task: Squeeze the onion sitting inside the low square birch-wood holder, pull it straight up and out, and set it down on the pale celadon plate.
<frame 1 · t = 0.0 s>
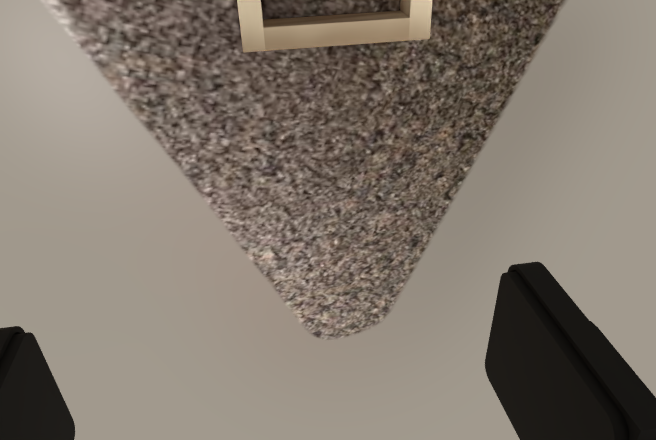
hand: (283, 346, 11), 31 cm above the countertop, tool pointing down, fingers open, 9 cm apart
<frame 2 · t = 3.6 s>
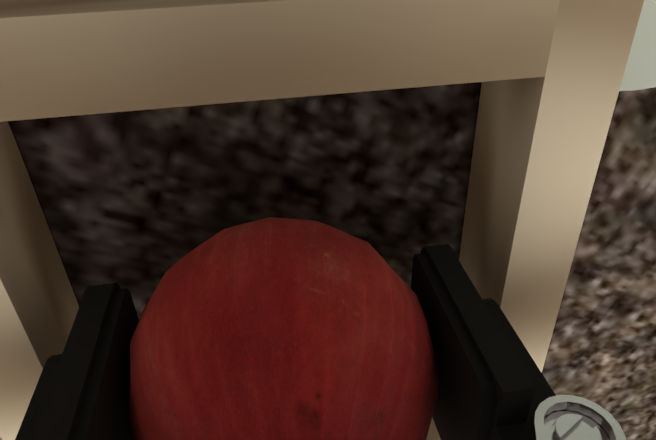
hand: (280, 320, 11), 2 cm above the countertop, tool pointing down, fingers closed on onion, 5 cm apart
onion: (273, 251, 14), resting in holder, touching gripper
holder: (273, 256, 13), on the countertop
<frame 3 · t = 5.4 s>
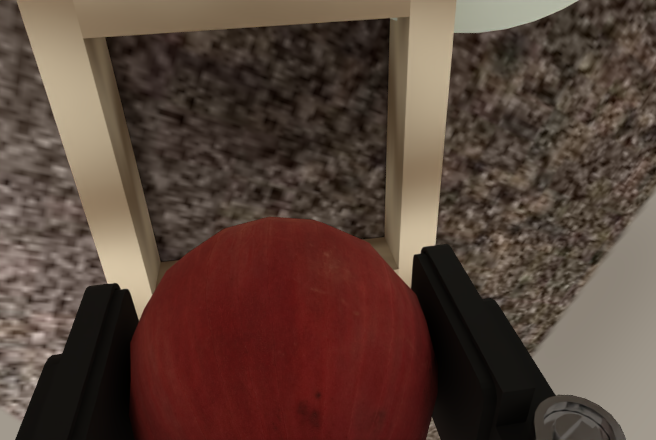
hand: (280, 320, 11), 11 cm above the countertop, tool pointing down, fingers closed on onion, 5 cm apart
onion: (272, 251, 14), point 8 cm above the countertop, touching gripper
holder: (264, 145, 21), on the countertop
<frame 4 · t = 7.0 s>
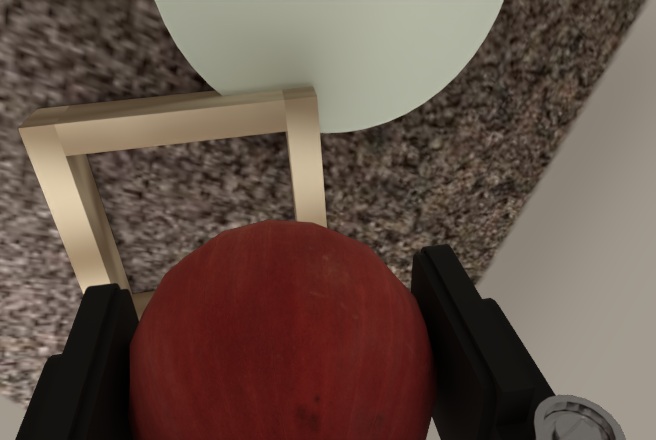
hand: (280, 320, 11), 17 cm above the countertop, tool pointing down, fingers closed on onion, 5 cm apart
onion: (272, 253, 14), point 14 cm above the countertop, touching gripper
holder: (202, 210, 29), on the countertop
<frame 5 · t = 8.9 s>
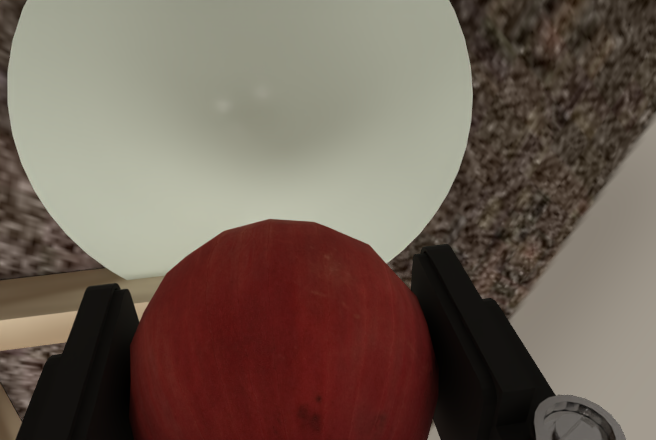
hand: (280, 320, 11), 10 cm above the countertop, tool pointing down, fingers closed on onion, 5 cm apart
onion: (273, 253, 14), point 7 cm above the countertop, touching gripper
plate: (256, 130, 20), on the countertop
holder: (115, 377, 25), on the countertop
when the fingers open (5 cm above the countertop, at t = 10.7 s): onion drops 1 cm, resting on plate.
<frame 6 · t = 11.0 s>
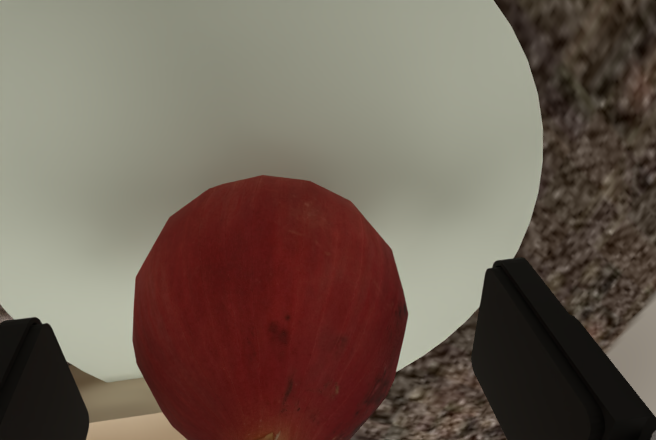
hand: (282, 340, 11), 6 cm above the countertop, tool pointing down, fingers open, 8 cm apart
onion: (272, 214, 15), point 1 cm above the countertop, touching plate
plate: (267, 203, 16), on the countertop
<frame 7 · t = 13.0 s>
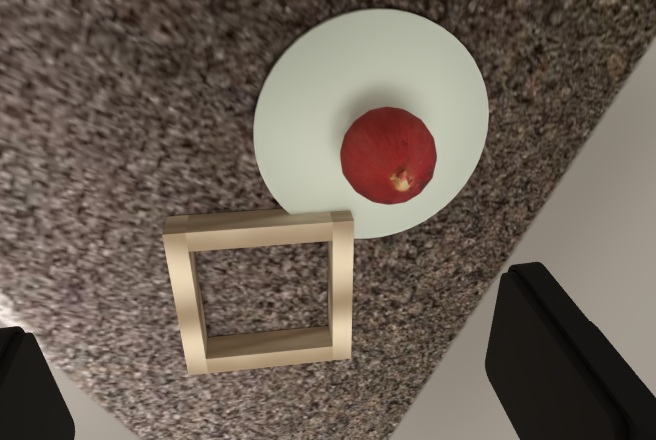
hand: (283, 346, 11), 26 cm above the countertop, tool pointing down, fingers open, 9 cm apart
onion: (374, 133, 35), point 1 cm above the countertop, touching plate
plate: (370, 131, 36), on the countertop
holder: (265, 282, 41), on the countertop
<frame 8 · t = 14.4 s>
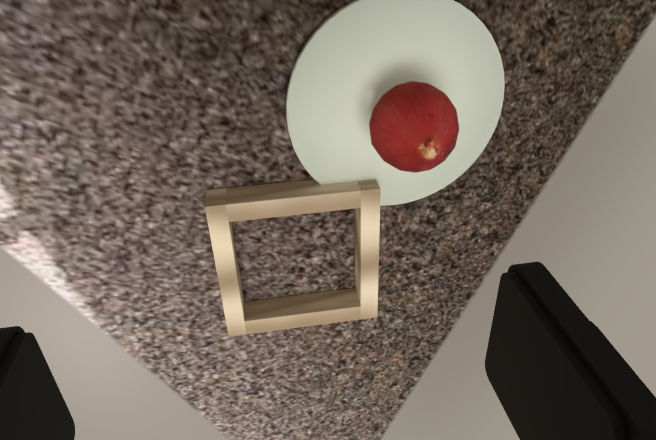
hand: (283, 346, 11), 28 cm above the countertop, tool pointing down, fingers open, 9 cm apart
onion: (398, 106, 38), point 1 cm above the countertop, touching plate
plate: (394, 105, 39), on the countertop
holder: (296, 249, 44), on the countertop
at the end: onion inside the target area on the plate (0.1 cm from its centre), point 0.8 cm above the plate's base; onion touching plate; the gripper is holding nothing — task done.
